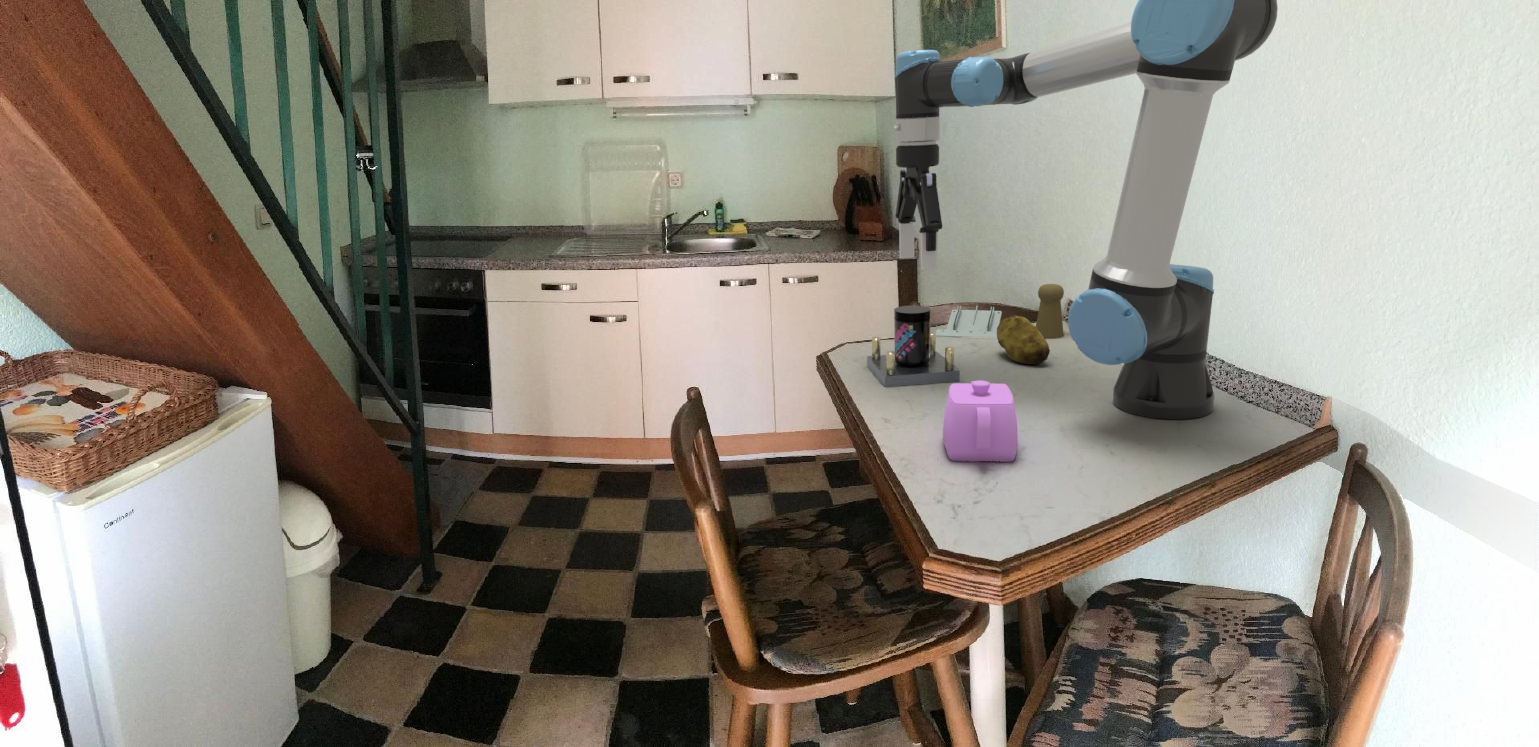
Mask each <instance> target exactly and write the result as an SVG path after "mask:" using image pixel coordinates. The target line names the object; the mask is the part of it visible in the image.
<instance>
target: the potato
mask: <svg viewBox="0 0 1539 747" xmlns="http://www.w3.org/2000/svg"><path fill="white" fill-rule="evenodd" d="M996 340H997V341H998V344H999V346H1000V347H1001V348H1003V349H1004V350H1005V353H1006V355H1007V357H1008V358H1009V359H1011V360H1012V361H1014V362H1017V363H1019V364H1024V365H1025V364H1026V365H1027V364H1028V365H1039V364H1041V363H1043V362H1045V361H1046V360H1047V359H1048V357H1049V355H1050V351H1051V349H1050V346H1049V344H1048V342H1047V339H1046V338H1044V337H1043V336H1042V334H1041V332H1040V330H1039V329H1038V328H1037V327H1036V325H1035V324H1033V322H1031V321H1030V320H1029V319H1028V318H1026V317H1025V316H1021V315H1010V316H1008V317H1005V318H1003V319H1000V323H999V325H998V327H997V339H996Z"/></svg>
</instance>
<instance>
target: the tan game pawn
mask: <svg viewBox="0 0 1539 747" xmlns="http://www.w3.org/2000/svg"><path fill="white" fill-rule="evenodd" d="M1064 293H1065V290H1064V288H1063V286H1061V285H1060V284H1055V283H1047V284H1042V285H1041V286H1039V287H1038V292H1037V295H1038V298H1039V300H1040V301H1039V308H1038V312H1037V318H1036V323H1035V324H1036V325H1035V326H1036V327H1037V328H1038V329H1039V330H1040V332H1041V334H1042V336H1043V337H1044V338H1045V339H1046V340H1047V339H1049V340H1050V339H1051V340H1052V339H1053V340H1054V339H1055V340H1056V339H1060V338H1063V337H1064V336H1065V334H1064V323H1063V312H1062V300H1063V298H1064V295H1065V294H1064Z"/></svg>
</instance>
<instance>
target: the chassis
mask: <svg viewBox="0 0 1539 747" xmlns="http://www.w3.org/2000/svg"><path fill="white" fill-rule="evenodd" d="M936 346H937V337H936V332H930V362H929V363H928V364H927V365H925V366H922V367H914V368H910V367H902V366H899V365H897V364H896V362H895V350H893V351H891V350H890V351H889V350H888V351H886V353H885V354H883V355H882V354H881V337H880V336H873V337H872V338H871V355H869V356H866V367H867V369H868V370H870V372H871V373H872V374H873V375H874V377H876V379H877V380H878V381H879V382H880V383H881V385H882V386H884V388H891V387H902V386H903V387H904V386H915V385H927V384H940V383H952V382H960V380H961V370H960V369H958V368H957V366H955V347H953V346H946V347H945V348H944V351H945V352H944V356H943V355H942V354H941V353H939V352H938V351H937V350H936V349H937V348H936Z"/></svg>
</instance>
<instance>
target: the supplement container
mask: <svg viewBox="0 0 1539 747" xmlns="http://www.w3.org/2000/svg"><path fill="white" fill-rule="evenodd" d="M931 311H932V310H931V307H929V306H923V305H902V306H898V307H895V308H894V309H893V314H894V315H893V320H894V321H893V322H894V331H893V332H894V338H893V339H894V348H893V349H894V350H893V351H894V352H895V362H896V364H897V365H899V366H902V367H910V368H914V367H922V366H925V365H927V364H928V363H929V362H930V333H931V319H932V315H931Z"/></svg>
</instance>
